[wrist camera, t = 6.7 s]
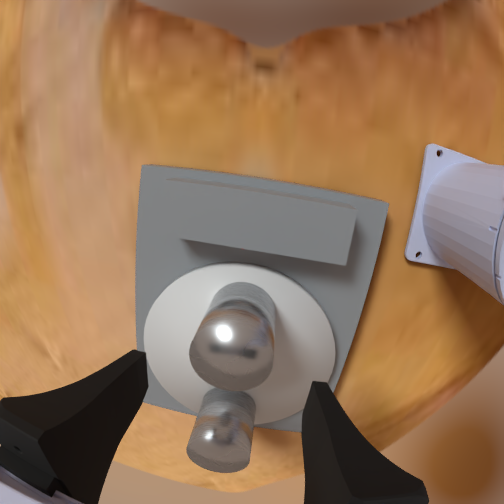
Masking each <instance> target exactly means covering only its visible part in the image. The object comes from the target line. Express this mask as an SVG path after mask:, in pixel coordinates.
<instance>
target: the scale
mask: <svg viewBox="0 0 504 504" xmlns="http://www.w3.org/2000/svg"><path fill="white" fill-rule="evenodd" d="M388 206H389V203H387V202H384V201H382V200H378V199H374V198H369V197H365V196H360V195H355V194H350V193H345V192H340V191H335V190H330V189H325V188H319V187H314V186H308V185H303V184H297V183H291V182H285V181H279V180H273V179H267V178H260V177H253V176H247V175H240V174H232V173H225V172H217V171H209V170H201V169H193V168H184V167H174V166H164V165H154V164H150V165H142V169H141V179H140V191H139V204H138V219H137V240H136V285H135V292H136V337H137V350H138V351H142V352H146V360H147V373H148V385H149V387H148V390H147V392H146V395H145V398H144V400H143V402H145V403H148V404H151V405H155V406H159V407H162V408H166V409H170V410H174V411H178V412H182V413H186V414H191V415H195V416H197V415H198V412H199V409H200V406H201V403H202V400H203V397H204V395H205V394H206V393H207V392H208V391H209V390H211V389H213V388H216V387H214V386H212V385H210V384H208V383H207V382H205V381H204V380H203V379H202V378H200V377H199V376H198V374H197V373H196V372H195V370H194V369H193V367H192V365H191V362H190V358H189V349H190V345H191V342H192V340H193V338H194V336H195V334H196V332H197V330H198V328H199V326H200V324H201V322H202V320H203V318H204V315H205V313H206V311H207V309H208V307H209V305H210V303H211V301H212V299H213V297H214V295H215V294H216V293H217V292H218V291H219V290H220V289H221V288H222V287H224V286H226V285H228V284H231V283H234V282H248V283H252V284H255V285H257V286H259V287H261V288H262V289H264V290H265V291H266V292H267V293H268V294H269V295H270V297H271V298H272V300H273V302H274V304H275V308H276V323H275V342H274V360H273V368H272V371H271V373H270V375H269V376H268V378H267V379H266V380H265V381H264V382H263V383H262V384H260V385H259V386H257V387H255V388H252V389H249V390H245V391H244V392H246V393H247V394H249V395H250V396H251V397H252V398H253V400H254V401H255V404H256V414H255V422H254V427H261V428H268V429H276V430H284V431H294V432H301V431H302V413H303V410H304V407H305V404H306V400H307V397H308V394H309V391H310V388H311V384H312V381H320V382H327V383H328V385H329V387H330V388H331V390H332V392H334V390H335V387H336V385H337V382H338V379H339V377H340V374H341V371H342V369H343V366H344V363H345V360H346V358H347V355H348V352H349V349H350V346H351V343H352V340H353V337H354V334H355V331H356V328H357V325H358V322H359V319H360V315H361V312H362V309H363V306H364V302H365V299H366V295H367V292H368V288H369V285H370V281H371V278H372V274H373V270H374V266H375V263H376V259H377V255H378V251H379V247H380V242H381V238H382V234H383V229H384V225H385V220H386V216H387V211H388Z"/></svg>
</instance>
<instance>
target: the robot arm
mask: <svg viewBox="0 0 504 504" xmlns="http://www.w3.org/2000/svg"><path fill="white" fill-rule="evenodd" d="M437 150H439V151H440V156H439V157H438V156H437ZM419 251H420V255H419V256H418V257H416V253H417V252H419ZM404 254H405V257H406V258H407V259H408V260H410V261H414V262H419V263H425V264H430V265H435V266H441V267H446V268H451V269H456V270H458V271H459V272H461V273H462V274H464V275H465V276H466V277H468V278H469V279H470V280H472V281H473V282H474V283H476V284H477V285H478V286H480V287H481V288H482V289H483V290H485V291H486V292H487V293H489V294H490V295H491V296H492V297H494V298H495V299H496V300H497V301H499V302H500V303H501V304H502V305H504V166H502V165H492V164H486V163H484V162H481V161H479V160H476V159H474V158H471V157H469V156H466V155H464V154H461V153H458V152H455V151H453V150H450V149H447V148H444V147H441V146H438V145H435V144H429V145H427V146H426V148H425V154H424V160H423V167H422V173H421V179H420V184H419V190H418V195H417V200H416V205H415V210H414V214H413V219H412V223H411V228H410V232H409V236H408V240H407V244H406V248H405V253H404ZM148 387H149V385H148V373H147V360H146V352H142V351H138V350H132V351H130V352H128V353H127V354H125V355H124V356H122V357H121V358H119V359H117V360H116V361H114V362H112V363H111V364H109V365H108V366H106V367H104V368H103V369H101V370H99V371H97V372H95V373H93V374H91V375H89V376H88V377H86V378H84V379H82V380H79V381H77V382H75V383H72V384H70V385H67V386H65V387H62V388H58V389H55V390H52V391H48V392H44V393H40V394H35V395H29V396H21V397H7V398H3V399H2V400H1V401H0V444H1V447H0V504H98V501H99V498H100V494H101V491H102V488H103V485H104V482H105V478H106V476H107V473H108V470H109V467H110V464H111V462H112V460H113V457H114V455H115V452H116V450H117V447H118V445H119V443H120V441H121V439H122V438H123V436H124V434H125V432H126V431H127V429H128V427H129V426H130V424H131V422H132V420H133V419H134V417H135V415H136V414H137V412H138V410H139V408H140V406H141V405H142V402H143V400H144V398H145V395H146V392H147V390H148ZM301 434H302V446H303V457H304V469H305V497H304V504H428V503H429V498H428V495H427V491H426V488H425V486H424V483H423V481H422V480H420V479H418V478H416V477H414V476H413V475H411V474H409V473H407V472H405V471H404V470H402V469H401V468H399V467H398V466H396V465H395V464H394V463H392V462H391V461H389V460H388V459H387V458H386V457H385V456H383V455H382V454H381V453H380V452H379V451H377V450H376V449H375V448H374V447H373V446H372V445H371V444H370V443H369V442H368V441H367V440H366V439H365V438H364V436H363V435H362V434H361V433H360V432H359V431H358V429H357V428H356V427H355V425H354V424H353V423H352V421H351V420H350V419H349V417H348V416H347V414H346V413H345V411H344V410H343V408H342V407H341V405H340V404H339V402H338V400H337V399H336V397H335V395H334V394H333V392H332V390H331V388H330V387H329V385H328V383H327V382H320V381H312V384H311V388H310V391H309V394H308V397H307V400H306V404H305V407H304V410H303V413H302V431H301Z"/></svg>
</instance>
